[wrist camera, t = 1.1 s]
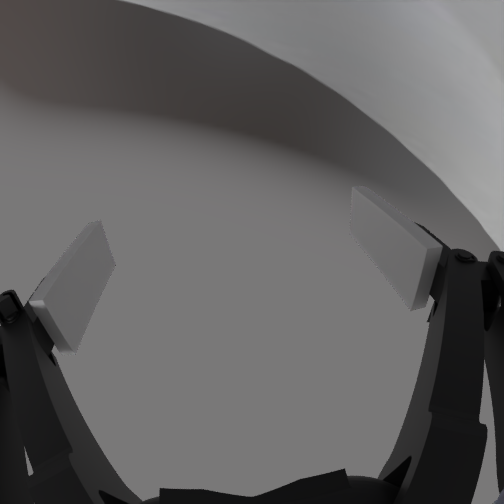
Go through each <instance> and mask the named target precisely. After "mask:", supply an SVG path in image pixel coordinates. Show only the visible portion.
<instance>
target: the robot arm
mask: <svg viewBox="0 0 504 504" xmlns="http://www.w3.org/2000/svg"><path fill="white" fill-rule="evenodd" d="M350 235H351V236H352V237H353V238H354V239H355V241H356V242H357V243H358V244H359V246H360V247H361V248H362V249H363V250H364V252H365V253H366V254H367V255H368V256H369V258H370V259H371V260H372V261H373V263H374V264H375V265H376V266H377V268H378V269H379V270H380V271H381V273H382V274H383V275H384V276H385V278H386V279H387V280H388V281H389V283H390V284H391V285H392V287H393V288H394V289H395V290H396V292H397V293H398V294H399V296H400V297H401V298H402V300H403V301H404V302H405V304H406V305H407V307H409V309H410V311H412V310H416V309H420V308H423V307H425V306H426V304H427V301H428V298H429V295H431V296H432V297H433V299H434V300H435V301H434V304H433V306H432V309H431V312H430V315H429V318H428V320H427V322H430V324H429V329H428V334H427V339H426V345H425V349H424V354H423V358H422V362H421V366H420V370H419V374H418V378H417V382H416V385H415V389H414V392H413V395H412V399H411V402H410V405H409V408H408V411H407V414H406V417H405V420H404V423H403V426H402V429H401V431H400V434H399V437H398V439H397V442H396V445H395V447H394V449H393V452H392V454H391V456H390V458H389V459H388V461H387V462H386V464H385V466H384V467H383V469H382V471H381V473H380V475H379V477H378V479H376V478H371V477H365V476H347V474H346V471H345V469H341V470H338V471H334V472H330V473H326V474H322V475H317V476H313V477H308V478H303V479H300V480H297V481H295V482H292V483H290V484H287V485H285V486H282V487H280V488H277V489H275V490H272V491H269V492H267V493H264V494H261V495H258V496H254V497H246V496H239V495H232V494H226V493H219V492H214V491H209V490H204V489H165V488H160V496H159V497H155V498H152V499H148V500H145V501H142V500H141V499H140V498H139V497H137V495H135V494H134V493H133V492H132V491H131V490H130V489H129V488H128V487H127V486H126V485H125V484H124V482H123V481H122V480H121V478H120V477H119V476H118V474H117V473H116V471H115V470H114V468H113V467H112V465H111V464H110V463H109V461H108V459H107V458H106V456H105V455H104V453H103V451H102V450H101V448H100V447H99V445H98V443H97V442H96V440H95V438H94V436H93V435H92V433H91V431H90V429H89V428H88V426H87V424H86V422H85V420H84V418H83V416H82V415H81V413H80V411H79V409H78V407H77V405H76V403H75V401H74V399H73V397H72V394H71V392H70V390H69V388H68V386H67V384H66V381H65V379H64V377H63V374H62V372H61V370H60V367H59V365H58V362H57V359H56V357H55V356H54V354H53V353H52V348H53V346H54V344H55V346H56V347H57V349H58V350H59V352H60V353H61V354H62V355H76V352H77V350H78V347H79V345H80V342H81V340H82V337H83V335H84V333H85V330H86V328H87V325H88V323H89V321H90V319H91V316H92V314H93V312H94V310H95V307H96V305H97V303H98V301H99V298H100V296H101V294H102V292H103V290H104V288H105V286H106V284H107V282H108V280H109V278H110V276H111V274H112V272H113V270H114V268H115V266H116V265H115V262H114V259H113V256H112V253H111V250H110V247H109V244H108V241H107V238H106V235H105V232H104V229H103V226H102V223H101V221H96V222H91V223H88V225H87V226H86V227H85V228H84V229H83V231H82V232H81V233H80V234H79V235H78V236H77V237H76V239H75V240H74V241H73V242H72V243H71V245H70V246H69V247H68V249H67V250H66V251H65V252H64V253H63V255H62V256H61V257H60V258H59V260H58V261H57V262H56V264H55V265H54V266H53V268H52V269H51V270H50V272H49V273H48V274H47V276H46V277H45V278H44V279H43V280H42V281H41V283H40V284H39V286H38V287H37V288H36V290H35V292H34V293H33V294H32V295H31V297H30V298H29V300H28V301H27V303H26V304H25V306H24V307H23V305H22V303H21V302H20V300H19V298H18V296H17V294H16V292H15V291H14V290H8V291H5V292H3V293H2V294H1V295H0V324H1V326H0V504H34V503H35V504H471V502H472V499H473V496H474V492H475V489H476V485H477V482H478V478H479V474H480V470H481V465H482V461H483V457H484V452H485V446H486V441H487V427H486V425H485V424H481V423H480V422H479V414H480V406H481V398H482V387H483V372H484V359H485V363H486V368H487V373H488V379H489V385H490V391H491V398H492V406H493V414H494V425H495V439H496V464H497V479H498V488H499V492H500V495H499V497H498V500H496V501H495V502H494V503H493V504H504V252H502V251H501V252H500V251H493V252H491V253H490V256H489V259H488V262H480V261H478V260H477V258H476V257H475V256H474V255H473V254H472V253H470V252H468V251H466V250H463V249H452V250H451V249H450V248H449V247H448V246H447V245H445V244H444V243H443V242H442V241H441V240H439V239H438V238H436V236H434V235H433V234H432V233H430V231H429V230H427V229H426V228H425V227H424V226H421V225H419V224H417V223H415V222H413V221H411V220H410V219H409V218H408V217H407V216H405V215H404V214H403V213H401V212H400V211H399V210H397V209H396V208H395V207H394V206H392V205H391V204H389V203H388V202H387V201H385V200H384V199H383V198H381V197H380V196H379V195H377V194H376V193H374V192H373V191H371V190H370V189H369V188H367V187H366V186H355V187H352V203H351V221H350ZM500 303H501V306H499V305H500ZM24 446H25V449H26V452H27V455H28V458H29V461H30V463H31V466H32V469H33V472H34V473H33V474H32V475H30V476H28V470H27V464H26V458H25V449H24Z"/></svg>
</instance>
